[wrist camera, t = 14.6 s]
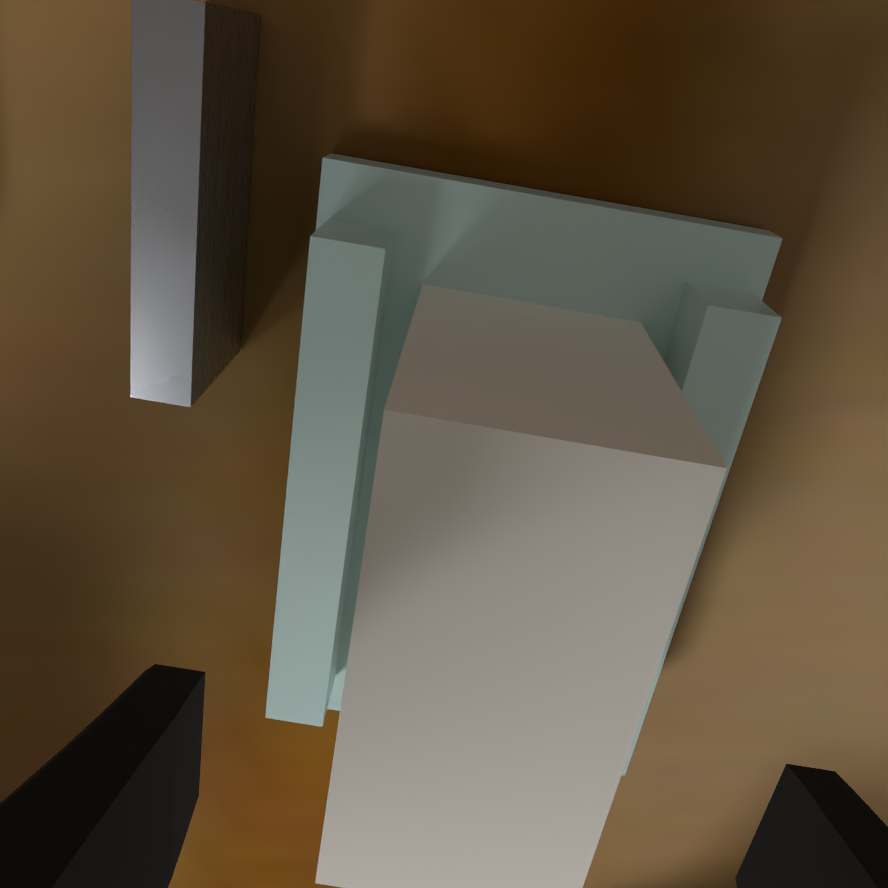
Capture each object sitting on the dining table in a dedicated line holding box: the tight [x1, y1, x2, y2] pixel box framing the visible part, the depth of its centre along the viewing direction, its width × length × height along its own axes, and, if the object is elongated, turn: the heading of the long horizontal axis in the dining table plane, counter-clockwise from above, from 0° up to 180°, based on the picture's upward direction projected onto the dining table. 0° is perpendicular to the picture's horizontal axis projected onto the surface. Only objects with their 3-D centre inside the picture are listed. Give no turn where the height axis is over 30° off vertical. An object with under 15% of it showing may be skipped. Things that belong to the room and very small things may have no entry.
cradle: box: [265, 153, 783, 775], centre depth 16 cm, size 12×8×2 cm, turn 171°
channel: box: [130, 0, 261, 407], centre depth 14 cm, size 6×7×3 cm
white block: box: [315, 284, 727, 888], centre depth 14 cm, size 8×4×6 cm, turn 171°
